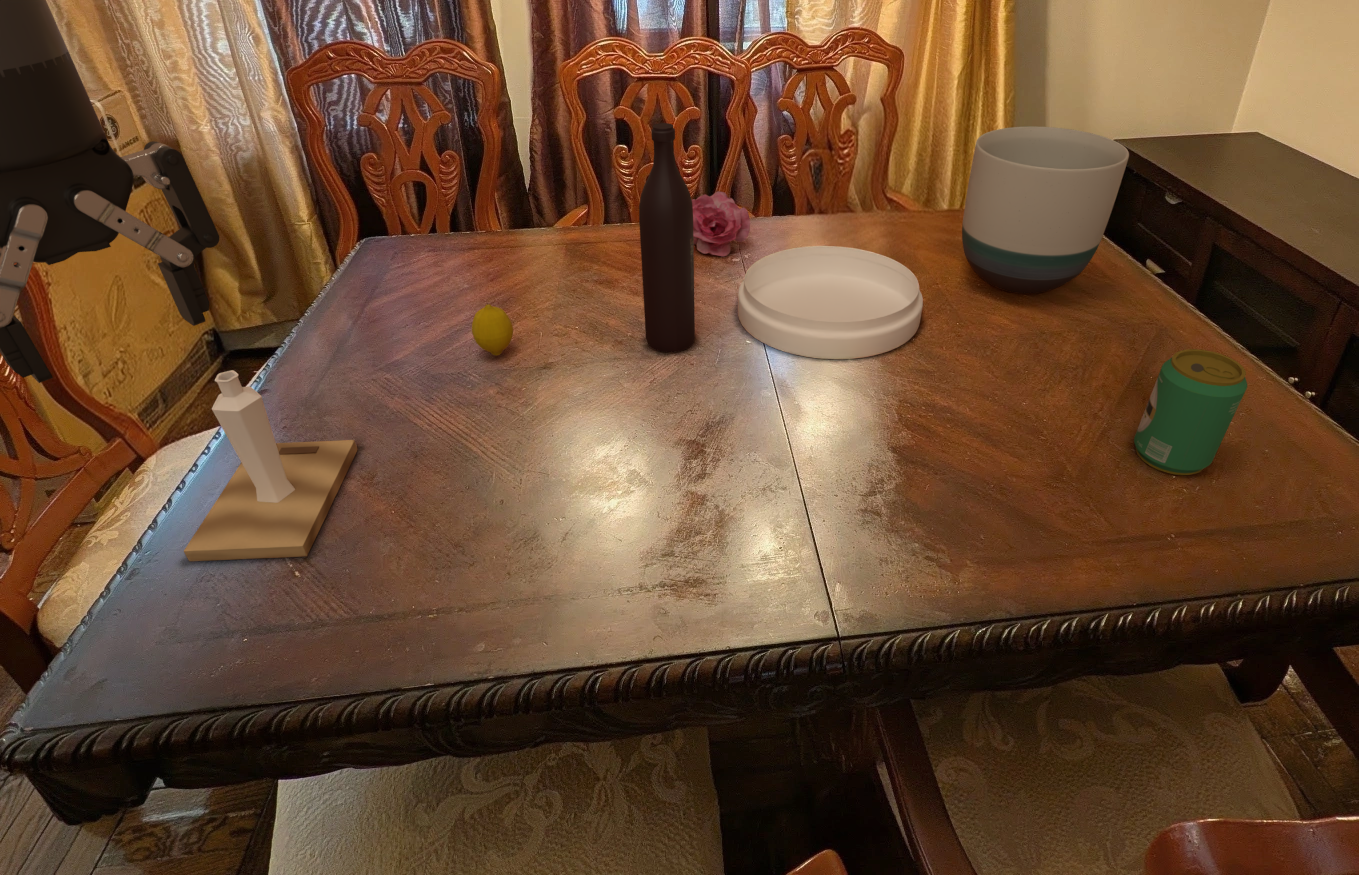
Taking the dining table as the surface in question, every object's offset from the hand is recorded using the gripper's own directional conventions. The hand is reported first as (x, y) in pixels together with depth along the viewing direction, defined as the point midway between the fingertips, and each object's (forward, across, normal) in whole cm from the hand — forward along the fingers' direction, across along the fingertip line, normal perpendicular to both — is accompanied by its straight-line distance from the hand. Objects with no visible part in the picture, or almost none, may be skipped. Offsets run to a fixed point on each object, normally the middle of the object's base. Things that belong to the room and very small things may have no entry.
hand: (122, 346), depth 48 cm
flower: (+34, +95, +31) cm, 106 cm away
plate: (+34, +86, +2) cm, 93 cm away
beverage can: (+34, +81, -47) cm, 100 cm away
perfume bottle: (+33, +11, +25) cm, 43 cm away
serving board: (+34, +11, +26) cm, 44 cm away
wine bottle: (+34, +65, +15) cm, 75 cm away
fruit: (+34, +47, +32) cm, 66 cm away
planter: (+34, +113, -16) cm, 119 cm away
